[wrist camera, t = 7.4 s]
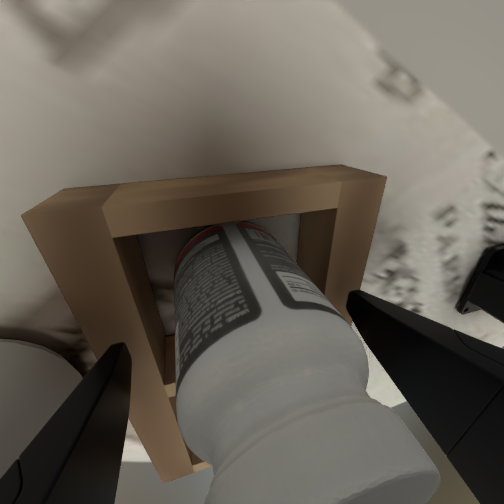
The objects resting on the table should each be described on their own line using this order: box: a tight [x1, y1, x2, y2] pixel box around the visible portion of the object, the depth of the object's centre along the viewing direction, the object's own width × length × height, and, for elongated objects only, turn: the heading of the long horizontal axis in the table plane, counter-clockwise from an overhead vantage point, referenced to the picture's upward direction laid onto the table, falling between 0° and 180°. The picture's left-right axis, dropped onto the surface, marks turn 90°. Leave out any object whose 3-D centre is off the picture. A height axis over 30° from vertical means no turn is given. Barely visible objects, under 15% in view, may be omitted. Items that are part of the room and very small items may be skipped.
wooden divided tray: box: [21, 165, 387, 483], centre depth 14 cm, size 12×18×3 cm, turn 2°
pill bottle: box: [174, 222, 441, 504], centre depth 9 cm, size 6×6×10 cm
